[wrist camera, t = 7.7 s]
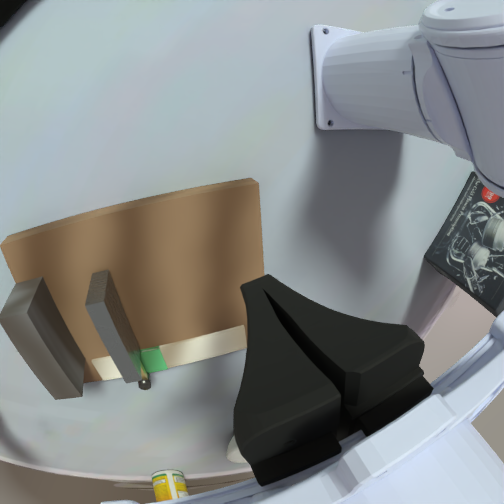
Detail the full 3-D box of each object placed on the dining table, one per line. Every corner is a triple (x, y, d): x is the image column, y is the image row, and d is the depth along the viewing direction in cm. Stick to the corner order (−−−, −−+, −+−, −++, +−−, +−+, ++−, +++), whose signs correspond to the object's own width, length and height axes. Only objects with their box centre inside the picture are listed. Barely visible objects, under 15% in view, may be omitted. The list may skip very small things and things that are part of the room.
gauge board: (250, 177, 20) (285, 202, 15) (261, 330, 27) (286, 373, 22) (7, 236, 15) (-25, 276, 11) (77, 371, 22) (74, 420, 18)
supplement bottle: (184, 468, 37) (199, 518, 29) (180, 478, 39) (193, 524, 31) (151, 469, 35) (163, 521, 27) (150, 479, 37) (161, 526, 29)
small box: (471, 167, 28) (550, 204, 18) (483, 196, 31) (550, 232, 21) (421, 256, 31) (497, 313, 21) (439, 274, 34) (502, 324, 24)
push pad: (108, 269, 17) (103, 301, 14) (151, 372, 22) (156, 404, 20) (92, 273, 17) (84, 305, 14) (138, 374, 22) (141, 407, 19)
